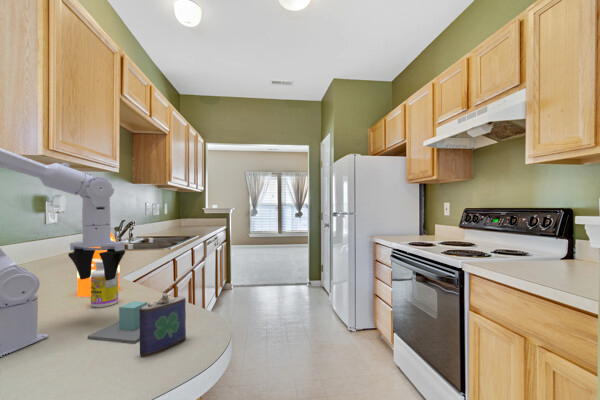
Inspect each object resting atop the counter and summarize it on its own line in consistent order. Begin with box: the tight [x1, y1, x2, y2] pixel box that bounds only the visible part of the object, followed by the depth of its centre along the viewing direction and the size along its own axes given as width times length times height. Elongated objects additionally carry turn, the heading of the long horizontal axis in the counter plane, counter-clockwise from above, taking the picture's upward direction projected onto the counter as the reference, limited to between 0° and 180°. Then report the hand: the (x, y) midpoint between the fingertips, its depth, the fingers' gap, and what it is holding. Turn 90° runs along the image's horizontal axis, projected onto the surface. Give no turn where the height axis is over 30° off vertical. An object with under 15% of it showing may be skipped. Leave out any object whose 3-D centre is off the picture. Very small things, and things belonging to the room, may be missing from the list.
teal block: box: [118, 300, 148, 331], centre depth 65 cm, size 4×4×5 cm
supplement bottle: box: [90, 260, 119, 308], centre depth 82 cm, size 7×7×13 cm
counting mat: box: [87, 320, 140, 345], centre depth 65 cm, size 12×12×1 cm
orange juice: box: [76, 232, 121, 298], centre depth 93 cm, size 8×9×20 cm
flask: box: [139, 292, 187, 358], centre depth 56 cm, size 9×3×11 cm, turn 144°
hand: (97, 279), depth 70 cm, fingers open, 7 cm apart
